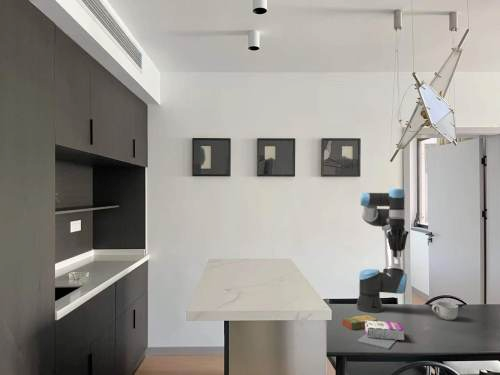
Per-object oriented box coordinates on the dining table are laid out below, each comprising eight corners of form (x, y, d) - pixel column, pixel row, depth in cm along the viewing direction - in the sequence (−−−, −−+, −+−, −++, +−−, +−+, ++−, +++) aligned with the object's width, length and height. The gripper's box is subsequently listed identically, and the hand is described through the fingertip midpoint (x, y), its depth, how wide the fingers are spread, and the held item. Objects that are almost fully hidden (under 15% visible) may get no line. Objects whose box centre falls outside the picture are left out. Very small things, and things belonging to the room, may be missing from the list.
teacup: (452, 315, 208) (452, 301, 209) (462, 322, 198) (461, 307, 198) (427, 314, 210) (427, 300, 210) (435, 321, 199) (434, 306, 199)
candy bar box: (399, 332, 179) (364, 329, 183) (399, 322, 180) (364, 319, 183) (404, 341, 169) (367, 337, 172) (404, 330, 169) (367, 327, 172)
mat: (368, 332, 180) (368, 331, 180) (397, 339, 172) (397, 338, 172) (357, 341, 168) (357, 340, 168) (388, 349, 160) (388, 348, 160)
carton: (378, 327, 189) (378, 319, 189) (351, 331, 184) (351, 322, 184) (367, 322, 197) (367, 314, 197) (342, 325, 192) (342, 317, 192)
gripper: (391, 218, 186) (391, 265, 185) (412, 218, 190) (412, 264, 189) (381, 217, 194) (381, 262, 193) (402, 217, 197) (402, 261, 196)
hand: (397, 263), depth 191 cm, fingers closed
